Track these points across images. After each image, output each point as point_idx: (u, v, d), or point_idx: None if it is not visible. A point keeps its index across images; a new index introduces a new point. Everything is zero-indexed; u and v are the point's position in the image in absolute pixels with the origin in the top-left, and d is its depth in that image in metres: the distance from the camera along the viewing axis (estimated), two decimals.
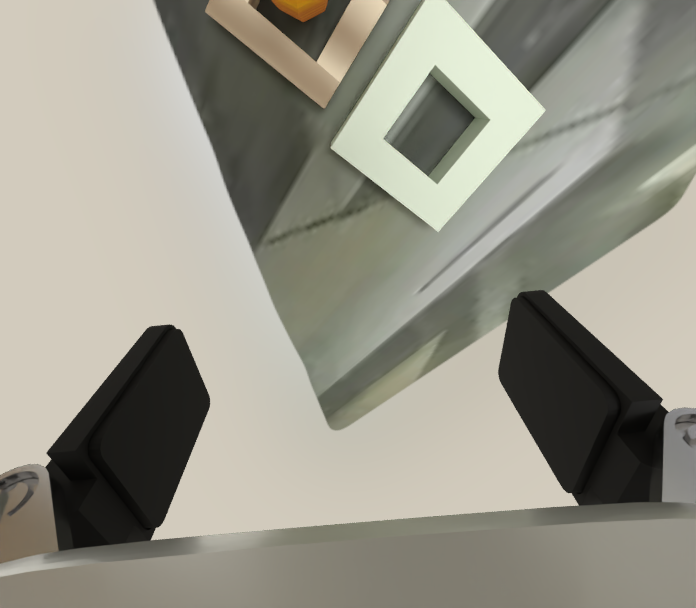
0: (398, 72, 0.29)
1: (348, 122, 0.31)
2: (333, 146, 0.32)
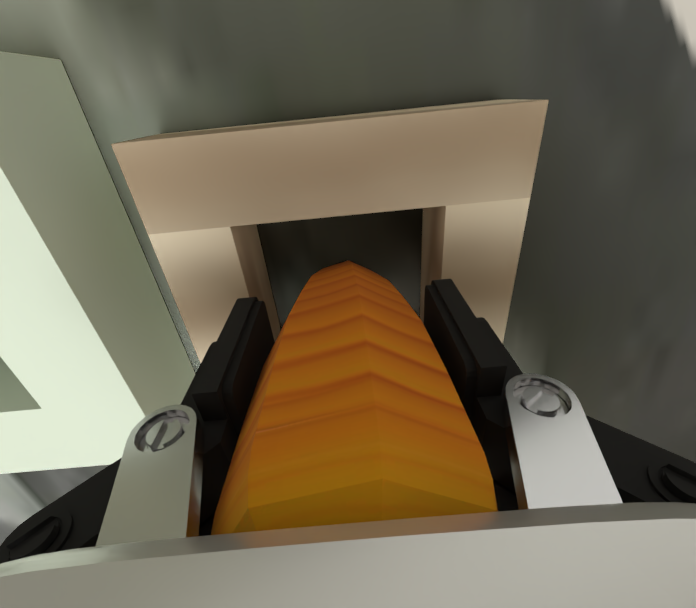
0: (67, 356, 0.11)
1: (2, 178, 0.08)
2: None
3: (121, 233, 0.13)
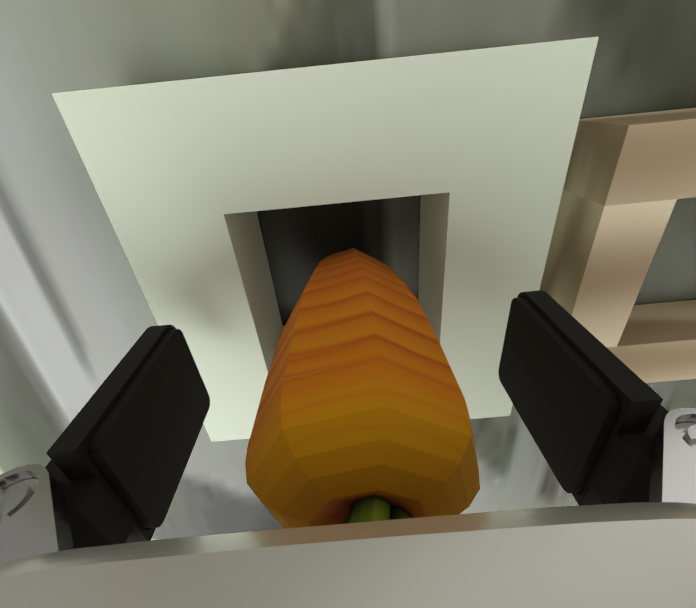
0: (497, 315, 0.13)
1: (567, 153, 0.10)
2: (589, 50, 0.09)
3: None
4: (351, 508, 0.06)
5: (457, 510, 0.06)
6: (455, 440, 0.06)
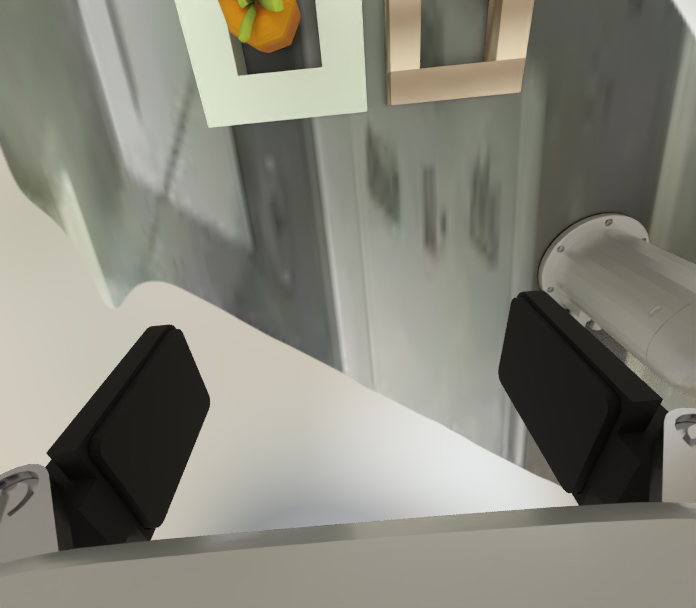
0: (345, 29, 0.27)
1: None
2: None
3: None
4: None
5: None
6: None
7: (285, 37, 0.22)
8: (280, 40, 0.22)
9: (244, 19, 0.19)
